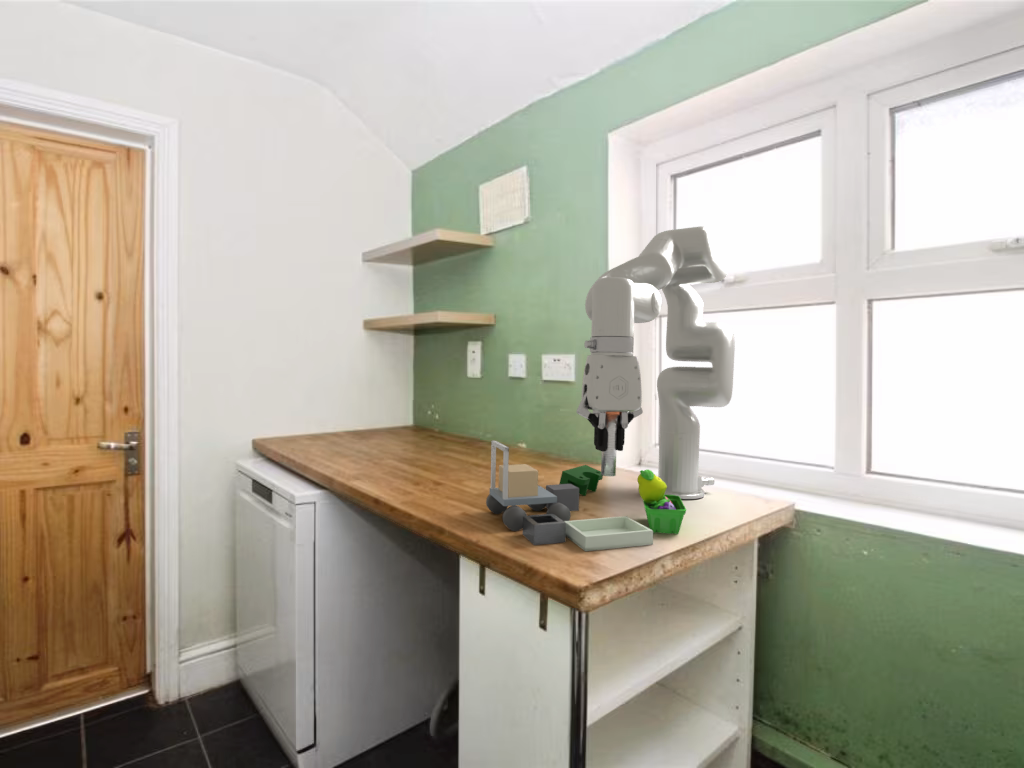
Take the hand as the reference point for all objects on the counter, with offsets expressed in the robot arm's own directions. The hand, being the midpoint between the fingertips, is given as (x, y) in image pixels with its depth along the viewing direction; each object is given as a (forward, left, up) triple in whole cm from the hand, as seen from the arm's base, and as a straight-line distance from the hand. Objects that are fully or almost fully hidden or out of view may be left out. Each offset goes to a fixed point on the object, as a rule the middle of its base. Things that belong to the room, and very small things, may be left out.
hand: (609, 449), depth 96 cm
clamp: (-11, -34, -17) cm, 40 cm away
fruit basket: (-14, -5, -17) cm, 22 cm away
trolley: (+10, -16, -17) cm, 25 cm away
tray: (0, 0, -17) cm, 17 cm away
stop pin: (0, 0, -5) cm, 5 cm away
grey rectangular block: (0, -21, -17) cm, 27 cm away
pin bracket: (+11, -4, -17) cm, 20 cm away
